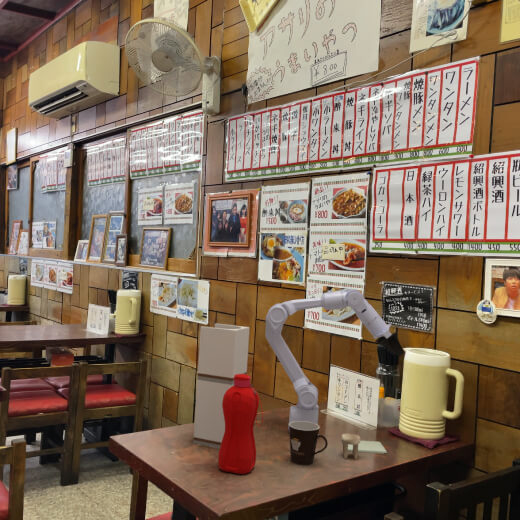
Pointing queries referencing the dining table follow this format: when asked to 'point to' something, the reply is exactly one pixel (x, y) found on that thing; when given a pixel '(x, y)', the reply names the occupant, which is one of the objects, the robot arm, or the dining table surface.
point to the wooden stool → (351, 440)
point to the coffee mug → (304, 442)
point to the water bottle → (239, 426)
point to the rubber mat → (368, 447)
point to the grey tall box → (217, 378)
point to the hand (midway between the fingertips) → (398, 353)
